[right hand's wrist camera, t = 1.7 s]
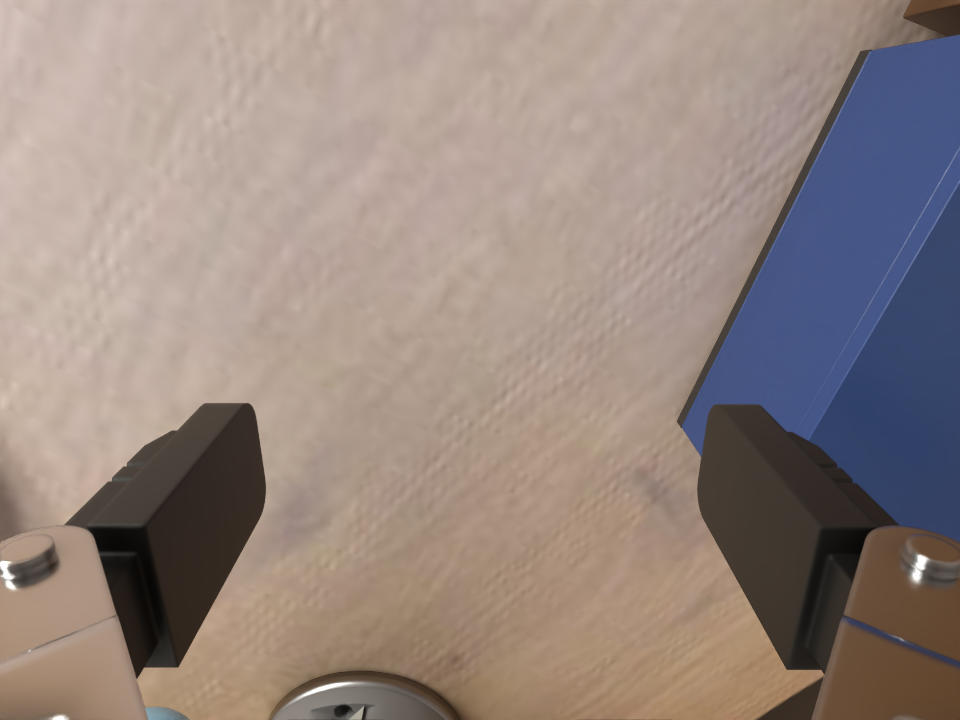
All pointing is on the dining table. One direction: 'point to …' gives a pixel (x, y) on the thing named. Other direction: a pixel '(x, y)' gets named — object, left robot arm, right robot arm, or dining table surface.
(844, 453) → the cabinet
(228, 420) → the right robot arm
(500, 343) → the dining table surface
